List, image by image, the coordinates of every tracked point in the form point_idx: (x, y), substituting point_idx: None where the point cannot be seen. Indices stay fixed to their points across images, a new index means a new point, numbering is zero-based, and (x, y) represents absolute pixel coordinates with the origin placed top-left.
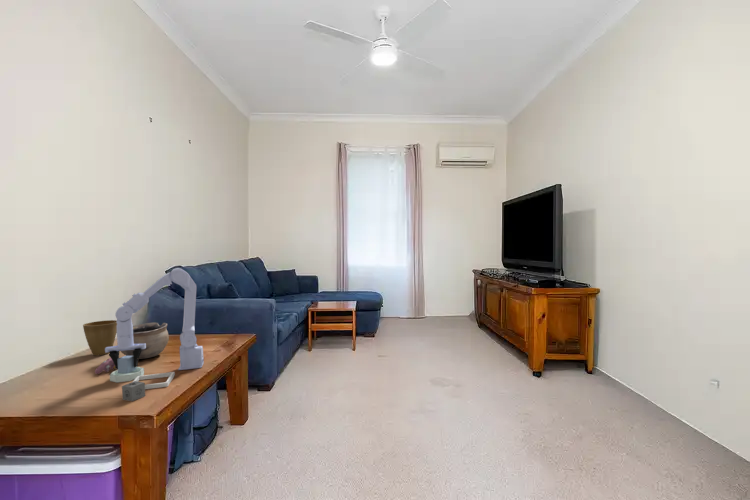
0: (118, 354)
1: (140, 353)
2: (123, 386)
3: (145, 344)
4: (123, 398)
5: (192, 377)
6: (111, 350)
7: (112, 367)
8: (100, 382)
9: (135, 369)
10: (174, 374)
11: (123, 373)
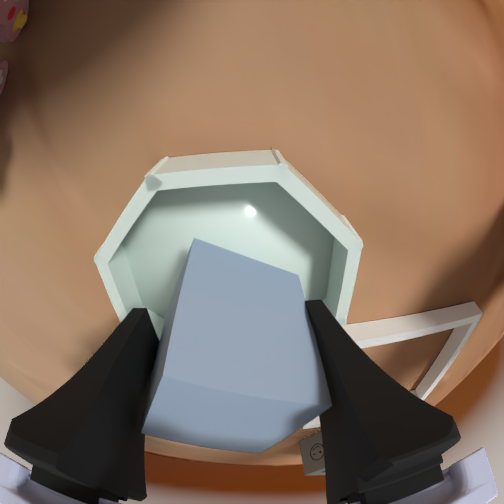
0: (99, 436)
1: (406, 397)
2: (308, 474)
3: (483, 491)
4: (302, 444)
5: (494, 330)
6: (60, 497)
7: (8, 39)
8: (95, 307)
9: (296, 282)
10: (475, 306)
11: (159, 191)
